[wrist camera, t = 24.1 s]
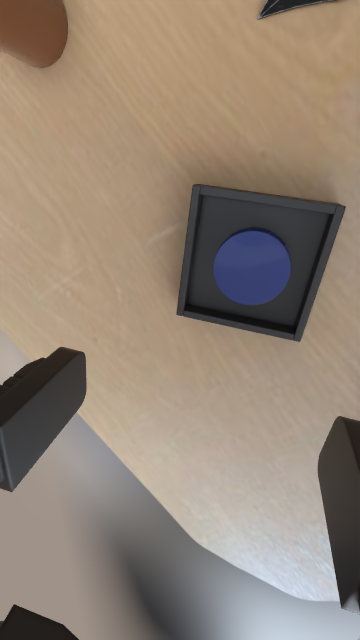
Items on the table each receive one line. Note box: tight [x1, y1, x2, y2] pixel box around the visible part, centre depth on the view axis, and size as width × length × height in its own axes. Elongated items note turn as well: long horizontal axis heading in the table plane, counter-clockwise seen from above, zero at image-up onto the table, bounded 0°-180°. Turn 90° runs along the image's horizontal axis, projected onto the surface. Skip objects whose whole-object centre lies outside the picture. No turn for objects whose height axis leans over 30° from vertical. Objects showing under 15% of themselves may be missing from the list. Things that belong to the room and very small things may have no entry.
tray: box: [177, 184, 346, 342], centre depth 25 cm, size 11×11×2 cm
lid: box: [213, 227, 292, 305], centre depth 25 cm, size 6×6×2 cm
